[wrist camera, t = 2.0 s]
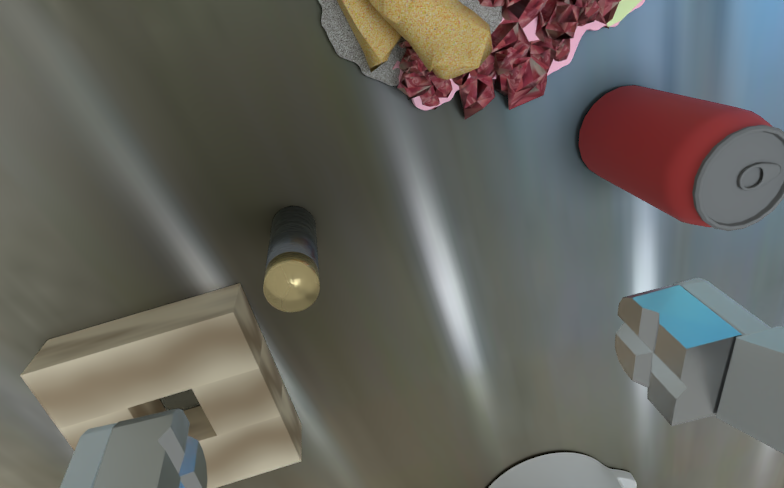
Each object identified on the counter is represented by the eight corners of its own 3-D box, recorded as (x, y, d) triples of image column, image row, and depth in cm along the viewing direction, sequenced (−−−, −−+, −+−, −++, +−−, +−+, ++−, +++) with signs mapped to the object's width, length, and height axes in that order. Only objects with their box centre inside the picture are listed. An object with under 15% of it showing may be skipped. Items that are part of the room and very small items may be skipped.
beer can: (661, 162, 39) (801, 220, 28) (578, 186, 38) (686, 255, 28) (660, 72, 36) (815, 98, 25) (570, 98, 36) (687, 136, 25)
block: (301, 423, 43) (301, 461, 40) (137, 474, 43) (121, 517, 39) (240, 283, 37) (233, 312, 34) (47, 339, 37) (20, 375, 33)
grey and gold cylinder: (321, 239, 37) (326, 303, 29) (280, 251, 37) (274, 318, 29) (308, 200, 36) (310, 256, 28) (265, 213, 36) (254, 272, 27)
